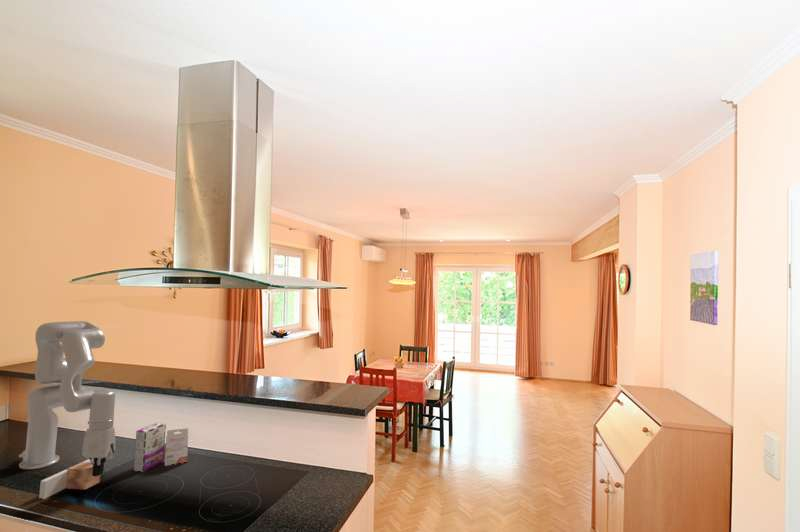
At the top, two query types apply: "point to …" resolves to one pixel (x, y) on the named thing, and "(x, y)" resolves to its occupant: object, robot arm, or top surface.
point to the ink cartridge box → (176, 446)
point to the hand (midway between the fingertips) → (97, 474)
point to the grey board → (54, 483)
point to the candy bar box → (149, 446)
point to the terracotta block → (81, 476)
